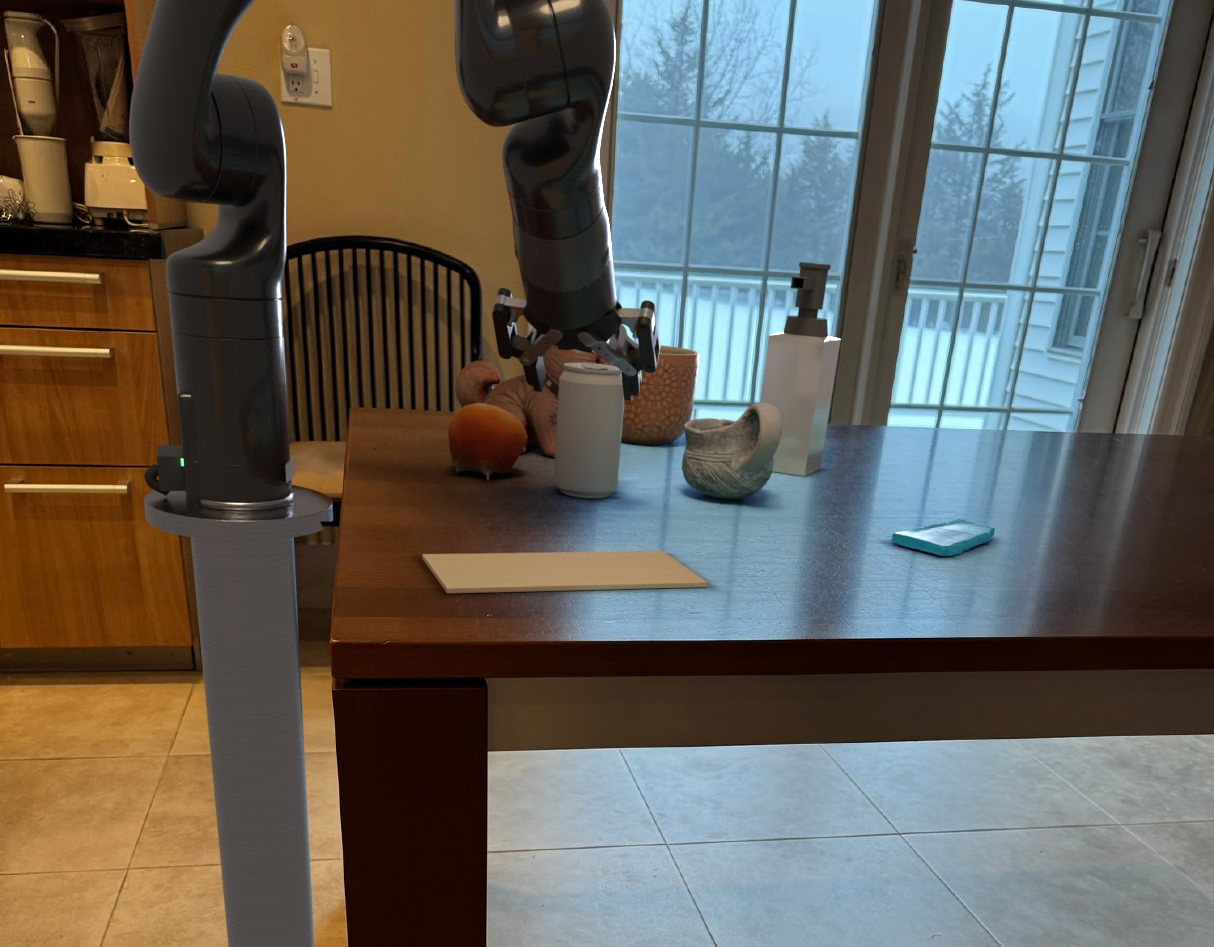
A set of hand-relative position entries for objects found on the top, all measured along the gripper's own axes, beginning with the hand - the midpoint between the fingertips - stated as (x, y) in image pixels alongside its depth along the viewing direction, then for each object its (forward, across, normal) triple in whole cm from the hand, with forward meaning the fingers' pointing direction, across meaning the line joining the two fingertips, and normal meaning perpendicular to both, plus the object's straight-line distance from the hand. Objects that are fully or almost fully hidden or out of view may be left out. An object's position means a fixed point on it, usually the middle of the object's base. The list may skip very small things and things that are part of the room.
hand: (584, 388), depth 105 cm
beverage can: (+10, 0, +4) cm, 11 cm away
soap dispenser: (+28, -18, -14) cm, 37 cm away
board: (-11, -4, +26) cm, 28 cm away
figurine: (+25, +11, -10) cm, 29 cm away
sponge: (+8, -36, +7) cm, 37 cm away
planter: (+36, 0, -21) cm, 41 cm away
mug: (+14, -14, +1) cm, 20 cm away
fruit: (+13, +12, +2) cm, 17 cm away
